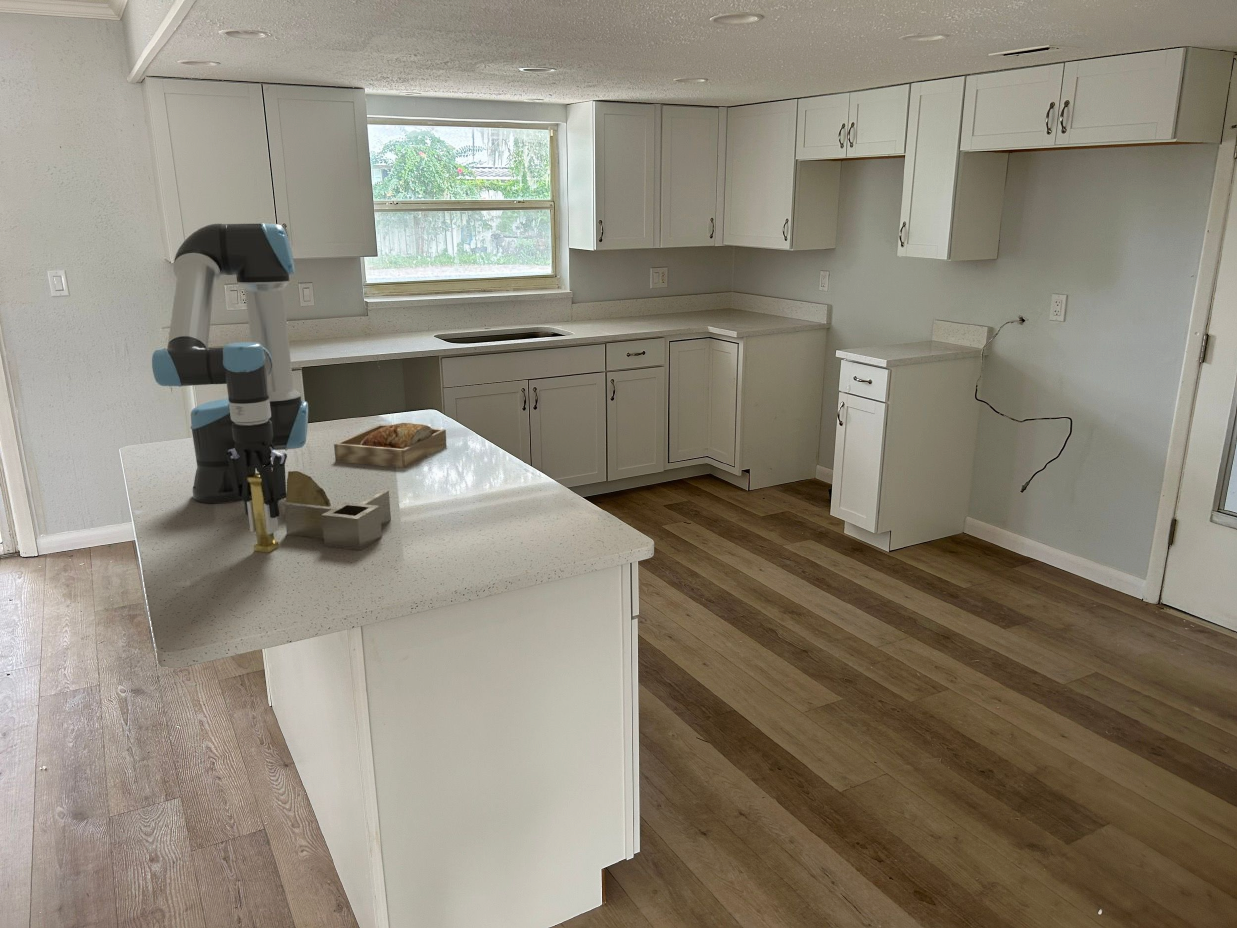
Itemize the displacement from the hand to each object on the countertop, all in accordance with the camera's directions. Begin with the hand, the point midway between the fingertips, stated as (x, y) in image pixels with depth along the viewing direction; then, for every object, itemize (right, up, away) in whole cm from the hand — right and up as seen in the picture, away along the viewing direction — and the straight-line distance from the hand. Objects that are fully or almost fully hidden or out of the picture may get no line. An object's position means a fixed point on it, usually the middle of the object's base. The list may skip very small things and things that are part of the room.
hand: (264, 530), depth 184 cm
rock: (+1, +3, +24) cm, 24 cm away
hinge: (+13, -1, +12) cm, 17 cm away
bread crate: (+8, +17, +72) cm, 74 cm away
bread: (+10, +16, +71) cm, 74 cm away
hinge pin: (0, -4, +1) cm, 4 cm away
